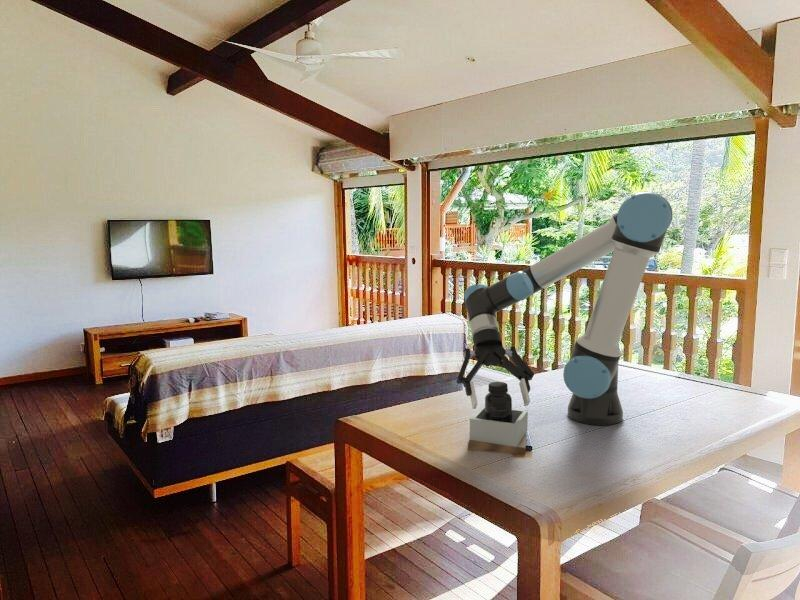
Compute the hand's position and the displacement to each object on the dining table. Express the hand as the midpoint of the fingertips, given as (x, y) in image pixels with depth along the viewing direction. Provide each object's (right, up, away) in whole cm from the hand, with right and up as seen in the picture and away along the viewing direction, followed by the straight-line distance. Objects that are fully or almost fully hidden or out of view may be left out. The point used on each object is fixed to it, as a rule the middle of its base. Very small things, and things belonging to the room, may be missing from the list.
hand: (501, 405), depth 150 cm
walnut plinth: (0, -11, +4) cm, 12 cm away
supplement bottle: (0, -7, +3) cm, 8 cm away
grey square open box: (0, -8, +4) cm, 9 cm away
